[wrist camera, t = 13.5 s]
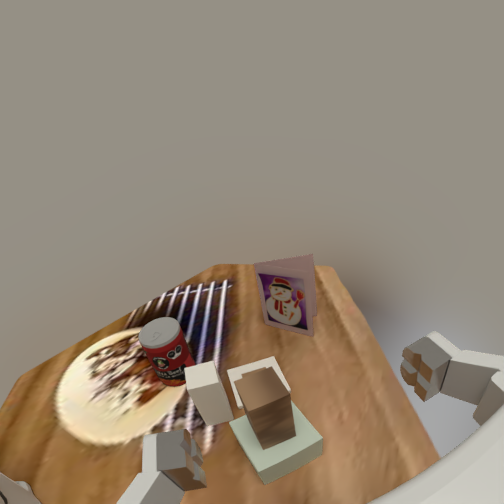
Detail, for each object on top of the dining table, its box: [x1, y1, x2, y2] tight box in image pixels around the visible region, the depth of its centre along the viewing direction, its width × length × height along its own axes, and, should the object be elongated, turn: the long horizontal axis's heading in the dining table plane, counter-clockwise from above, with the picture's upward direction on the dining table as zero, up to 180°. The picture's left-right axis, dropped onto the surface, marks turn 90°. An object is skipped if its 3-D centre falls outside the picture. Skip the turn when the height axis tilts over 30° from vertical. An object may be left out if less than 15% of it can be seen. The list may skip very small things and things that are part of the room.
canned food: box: [139, 317, 195, 386], centre depth 49 cm, size 8×8×11 cm
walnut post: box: [234, 366, 296, 450], centre depth 30 cm, size 4×4×10 cm
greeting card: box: [254, 254, 317, 337], centre depth 57 cm, size 11×7×15 cm, turn 56°
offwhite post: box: [184, 361, 234, 426], centre depth 40 cm, size 4×4×10 cm
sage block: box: [229, 401, 323, 485], centre depth 33 cm, size 9×9×6 cm
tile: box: [227, 356, 291, 409], centre depth 46 cm, size 9×9×1 cm
